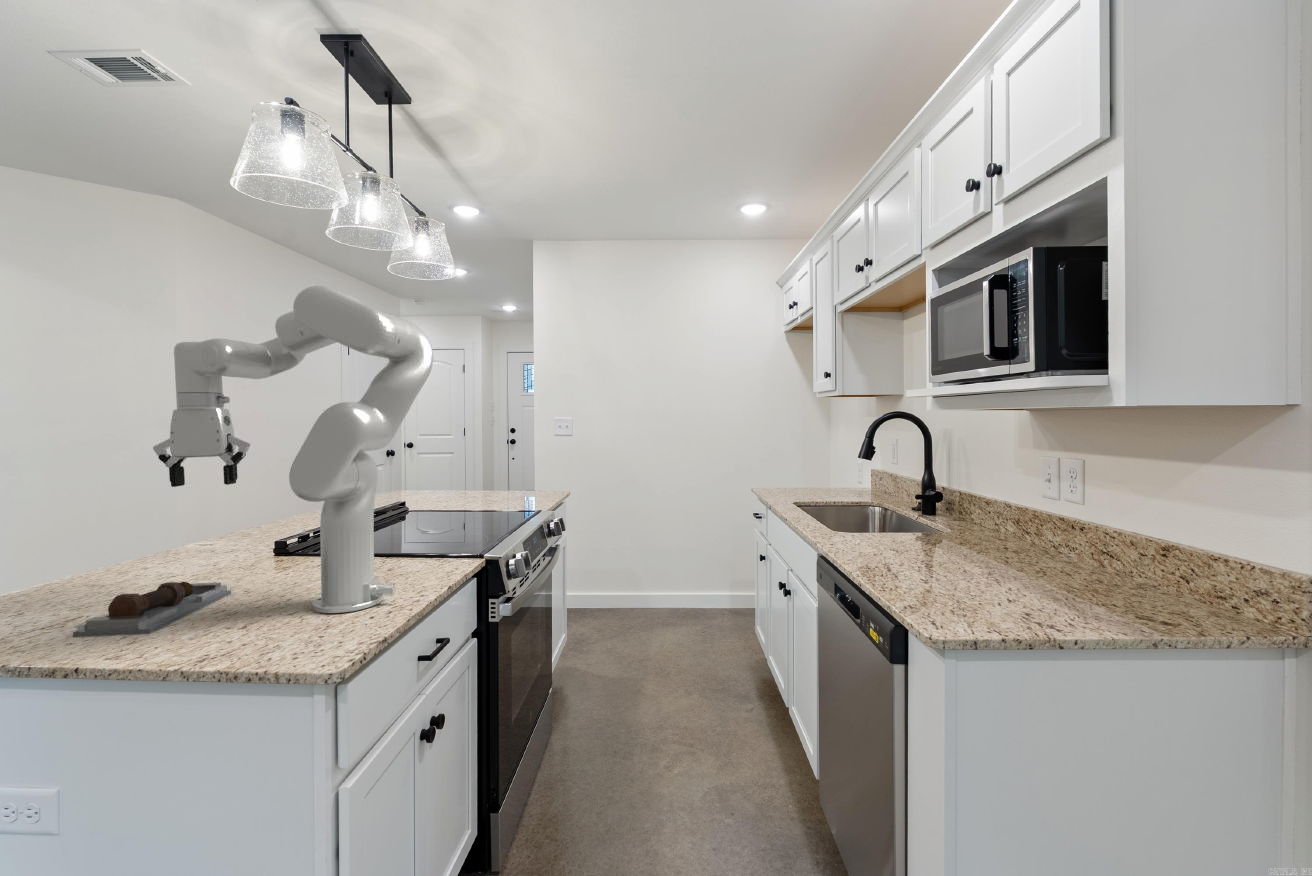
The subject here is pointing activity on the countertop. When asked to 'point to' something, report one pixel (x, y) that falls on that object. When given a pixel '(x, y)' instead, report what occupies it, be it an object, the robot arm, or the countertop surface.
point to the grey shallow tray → (143, 621)
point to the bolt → (149, 599)
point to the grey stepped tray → (183, 609)
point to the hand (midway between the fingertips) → (204, 484)
